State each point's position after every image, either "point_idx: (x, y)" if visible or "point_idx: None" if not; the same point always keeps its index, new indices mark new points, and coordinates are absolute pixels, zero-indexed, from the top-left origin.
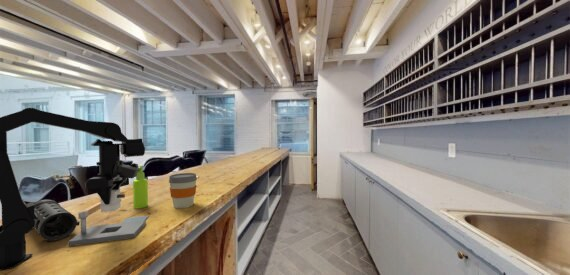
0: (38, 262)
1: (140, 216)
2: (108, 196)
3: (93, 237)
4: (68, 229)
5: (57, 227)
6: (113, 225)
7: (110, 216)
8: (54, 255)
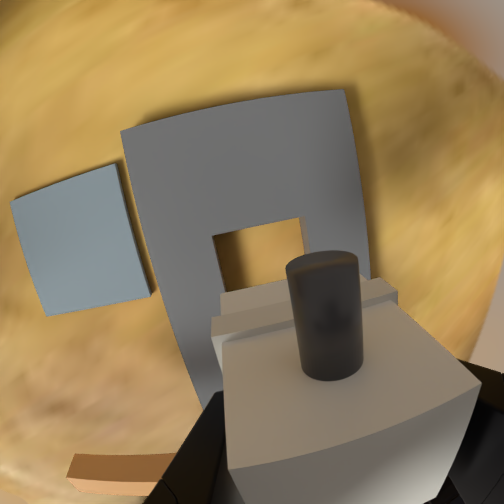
0: (452, 343)
1: (23, 246)
2: (487, 377)
3: None
4: None
5: None
6: (197, 301)
7: (44, 405)
8: None
